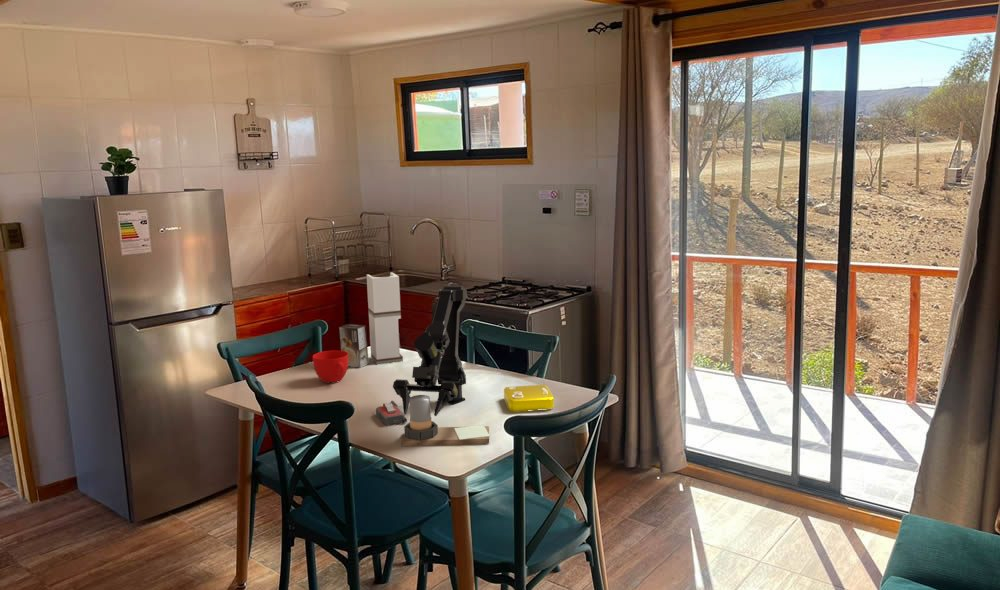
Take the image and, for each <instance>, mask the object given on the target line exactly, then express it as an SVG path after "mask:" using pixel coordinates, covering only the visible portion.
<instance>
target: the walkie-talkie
mask: <svg viewBox="0 0 1000 590" xmlns="http://www.w3.org/2000/svg"><path fill="white" fill-rule="evenodd" d="M375 416H376V417H377V418H378V419H379V421H381V422H382V424H383V425H384V426H388V427H389V426H394V425H400V423H401V424H404V423H407V422H408V419H407V417H405V416H406V415H405V414H404V409H403V405H398V404H397V403H396V402H395V401H394V400H391V401H390V402H386V403H383V404H382V406H377V407H376V408H375Z"/></svg>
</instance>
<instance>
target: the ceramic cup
mask: <svg viewBox="0 0 1000 590" xmlns="http://www.w3.org/2000/svg"><path fill="white" fill-rule="evenodd" d="M312 364H313V369H314V371H315V373H316V376H318V378H319V379H320V380H321V381H322V382H323V381H324V382H336V383H338V382H337V381H339V382H341V381H342V379H343V378H344V376H345V375H346V373H347V371H348V367H349V366H348V353H347V352H345V351H341V350H337V349H336V350H334V349H333V350H323V351H319V352H317V353H314V354H313V355H312ZM340 380H341V381H340ZM324 382H323V383H324Z"/></svg>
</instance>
